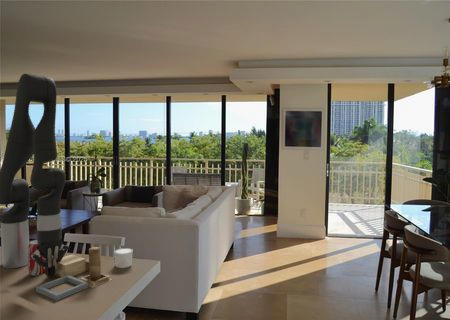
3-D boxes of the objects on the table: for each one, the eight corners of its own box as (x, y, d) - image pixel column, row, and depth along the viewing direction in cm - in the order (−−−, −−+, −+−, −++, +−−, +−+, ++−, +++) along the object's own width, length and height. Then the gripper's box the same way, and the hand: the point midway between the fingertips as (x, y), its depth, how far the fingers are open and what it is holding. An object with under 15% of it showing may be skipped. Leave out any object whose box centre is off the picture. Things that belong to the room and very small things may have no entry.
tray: (36, 296, 113) (36, 286, 112) (68, 283, 122) (67, 275, 122) (56, 305, 107) (56, 295, 107) (88, 291, 116) (88, 282, 116)
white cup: (110, 270, 133) (110, 252, 133) (122, 264, 140) (121, 246, 139) (125, 273, 131) (125, 254, 130) (136, 267, 137) (136, 249, 137)
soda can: (41, 278, 126) (40, 245, 125) (23, 276, 128) (22, 243, 127) (54, 270, 133) (53, 239, 132) (37, 269, 135) (36, 237, 134)
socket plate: (77, 286, 120) (77, 278, 120) (97, 278, 127) (97, 270, 126) (92, 292, 116) (92, 284, 115) (112, 283, 122) (112, 275, 122)
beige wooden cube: (51, 277, 127) (51, 260, 127) (72, 270, 134) (72, 254, 133) (65, 282, 123) (65, 265, 122) (85, 274, 129) (85, 258, 129)
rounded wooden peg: (87, 281, 120) (86, 249, 120) (96, 277, 123) (95, 246, 123) (94, 283, 119) (93, 251, 118) (103, 279, 122) (102, 248, 121)
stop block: (69, 268, 135) (68, 255, 134) (76, 266, 137) (75, 253, 137) (89, 276, 128) (88, 262, 128) (96, 273, 131) (96, 259, 130)
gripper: (61, 221, 129) (61, 268, 130) (23, 229, 118) (25, 280, 119) (73, 224, 125) (74, 272, 126) (36, 233, 114) (37, 286, 115)
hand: (50, 276), depth 123 cm, fingers closed
